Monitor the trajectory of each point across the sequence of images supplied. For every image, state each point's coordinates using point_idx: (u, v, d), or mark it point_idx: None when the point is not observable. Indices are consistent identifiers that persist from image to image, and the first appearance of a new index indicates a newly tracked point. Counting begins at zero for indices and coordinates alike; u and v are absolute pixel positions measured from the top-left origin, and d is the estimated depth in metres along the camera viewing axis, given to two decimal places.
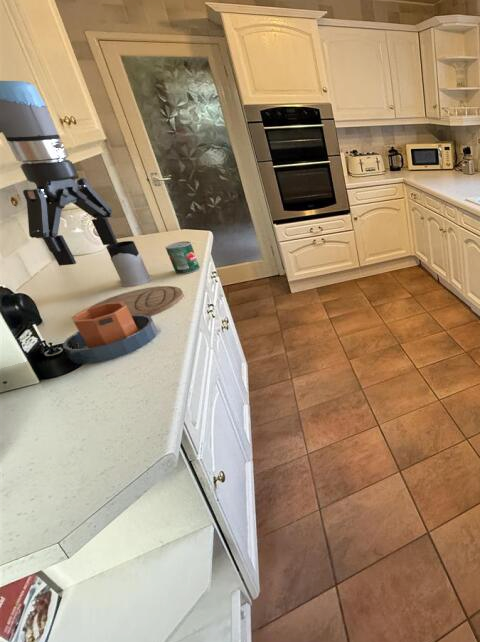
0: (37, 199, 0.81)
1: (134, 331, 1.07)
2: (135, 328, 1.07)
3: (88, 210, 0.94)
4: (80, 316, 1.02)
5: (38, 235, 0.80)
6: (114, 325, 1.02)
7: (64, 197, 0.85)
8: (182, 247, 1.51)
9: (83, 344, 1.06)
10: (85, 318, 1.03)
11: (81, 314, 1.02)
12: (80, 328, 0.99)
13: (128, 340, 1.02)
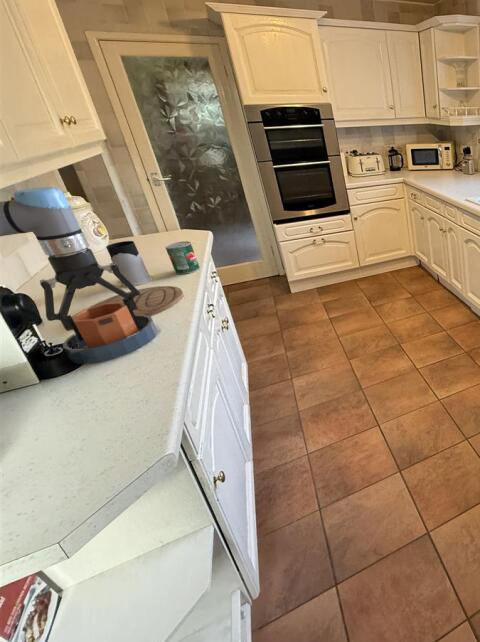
0: (44, 290, 0.94)
1: (134, 331, 1.07)
2: (135, 328, 1.07)
3: None
4: (80, 316, 1.02)
5: (47, 318, 0.95)
6: (114, 325, 1.02)
7: (74, 284, 0.97)
8: (182, 247, 1.51)
9: (83, 344, 1.06)
10: (85, 318, 1.03)
11: (81, 314, 1.02)
12: (80, 328, 0.99)
13: (128, 340, 1.02)
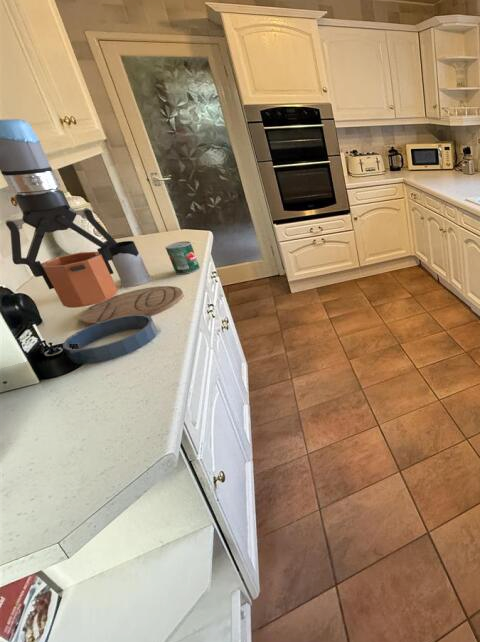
0: (10, 230, 0.87)
1: (109, 282, 1.01)
2: (110, 279, 1.01)
3: None
4: (50, 264, 0.95)
5: None
6: (87, 273, 0.96)
7: (43, 226, 0.91)
8: (182, 247, 1.51)
9: (83, 344, 1.06)
10: None
11: (52, 261, 0.96)
12: (50, 275, 0.93)
13: (128, 340, 1.02)
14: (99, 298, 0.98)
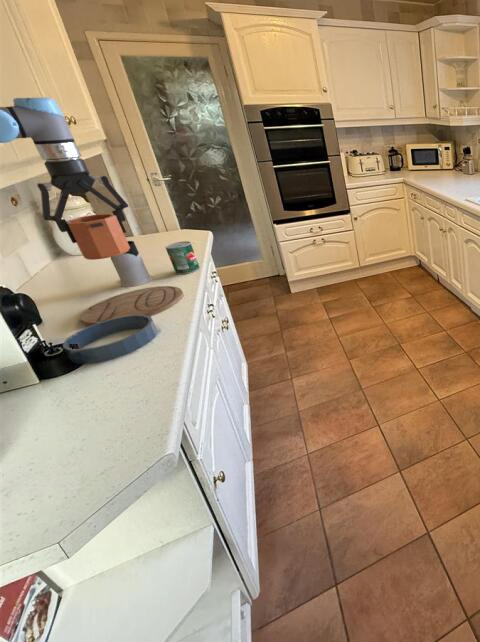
0: (41, 191, 1.05)
1: (123, 240, 1.18)
2: (123, 237, 1.18)
3: (105, 202, 1.15)
4: (73, 222, 1.13)
5: (44, 218, 1.07)
6: (104, 230, 1.13)
7: (68, 189, 1.08)
8: (182, 247, 1.51)
9: (83, 344, 1.06)
10: None
11: (74, 220, 1.13)
12: (73, 230, 1.10)
13: (128, 340, 1.02)
14: (114, 252, 1.16)
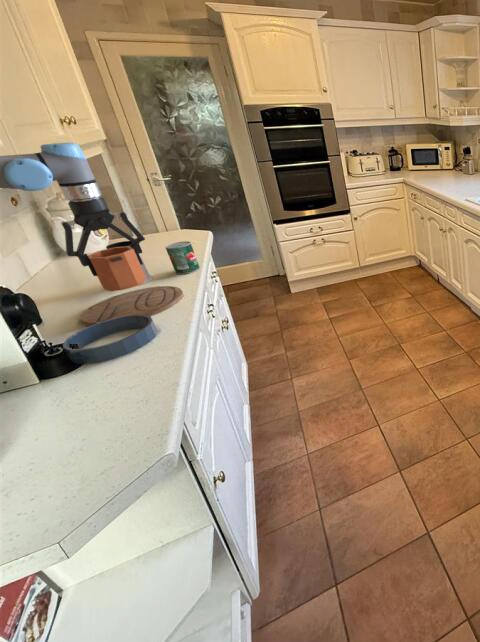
0: (65, 229, 1.12)
1: (140, 271, 1.25)
2: (140, 269, 1.25)
3: (123, 236, 1.22)
4: (94, 256, 1.20)
5: (67, 254, 1.13)
6: (123, 263, 1.20)
7: (90, 226, 1.15)
8: (182, 247, 1.51)
9: (83, 344, 1.06)
10: None
11: (95, 254, 1.20)
12: (94, 264, 1.17)
13: (128, 340, 1.02)
14: (132, 283, 1.23)
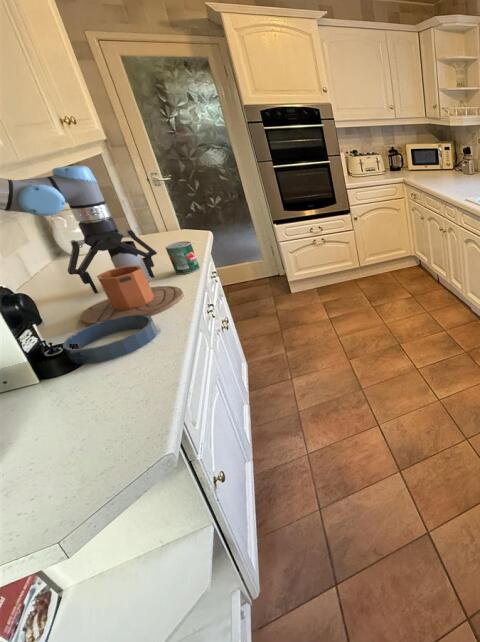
0: (73, 248, 1.14)
1: (148, 290, 1.28)
2: (149, 287, 1.28)
3: None
4: (103, 276, 1.22)
5: (68, 272, 1.14)
6: (132, 283, 1.22)
7: (98, 246, 1.17)
8: (182, 247, 1.51)
9: (83, 344, 1.06)
10: (108, 278, 1.24)
11: (104, 274, 1.23)
12: (104, 284, 1.19)
13: (128, 340, 1.02)
14: (141, 302, 1.25)
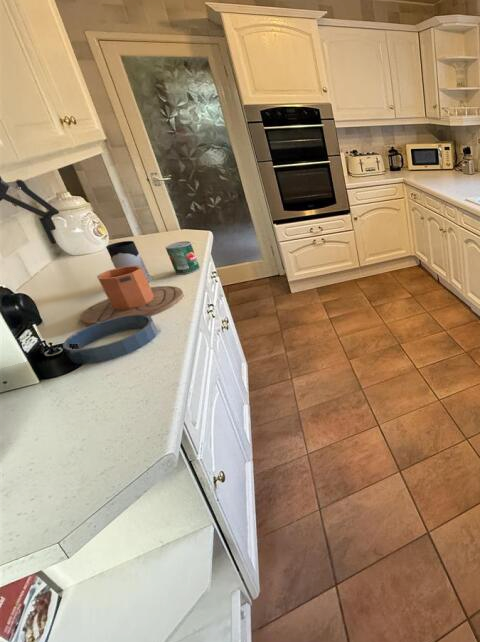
0: None
1: (148, 290, 1.28)
2: (149, 287, 1.28)
3: (28, 209, 0.98)
4: (103, 276, 1.22)
5: None
6: (132, 283, 1.22)
7: None
8: (182, 247, 1.51)
9: (83, 344, 1.06)
10: (108, 278, 1.24)
11: (104, 274, 1.23)
12: (104, 284, 1.19)
13: (128, 340, 1.02)
14: (141, 302, 1.25)
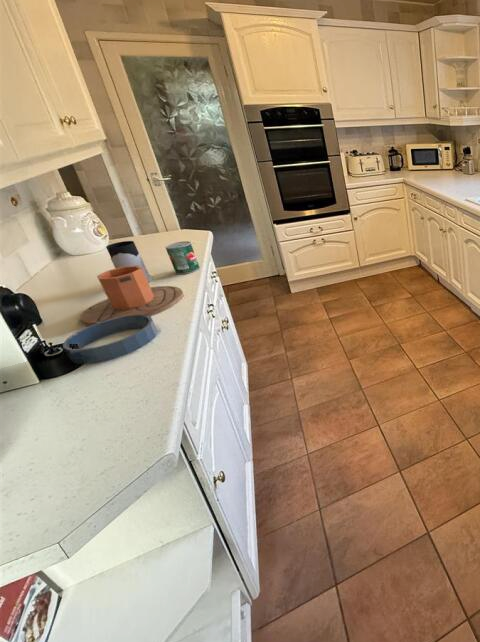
0: None
1: (148, 290, 1.28)
2: (149, 287, 1.28)
3: None
4: (103, 276, 1.22)
5: None
6: (132, 283, 1.22)
7: None
8: (182, 247, 1.51)
9: (83, 344, 1.06)
10: (108, 278, 1.24)
11: (104, 274, 1.23)
12: (104, 284, 1.19)
13: (128, 340, 1.02)
14: (141, 302, 1.25)
